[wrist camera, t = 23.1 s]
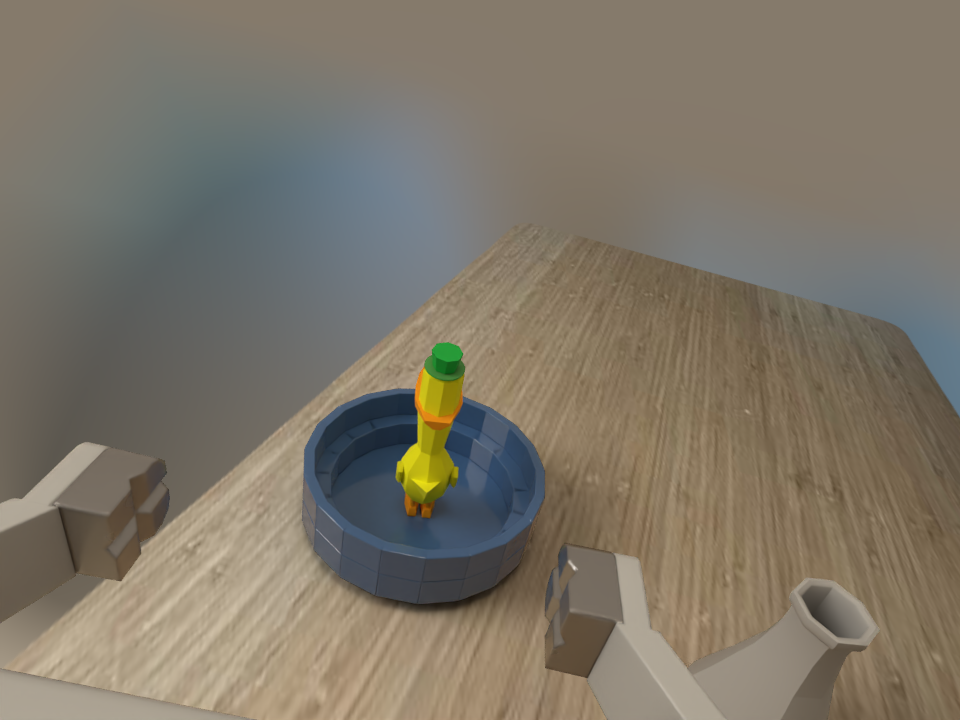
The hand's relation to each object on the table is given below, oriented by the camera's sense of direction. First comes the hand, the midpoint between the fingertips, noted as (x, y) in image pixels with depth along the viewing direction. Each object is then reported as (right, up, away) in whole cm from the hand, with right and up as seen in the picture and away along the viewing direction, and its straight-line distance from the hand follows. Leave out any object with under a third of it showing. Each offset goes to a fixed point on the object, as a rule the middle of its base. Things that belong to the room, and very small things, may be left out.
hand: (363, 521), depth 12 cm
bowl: (-1, -6, +26) cm, 27 cm away
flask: (+15, -15, +18) cm, 28 cm away
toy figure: (-1, -6, +26) cm, 26 cm away
